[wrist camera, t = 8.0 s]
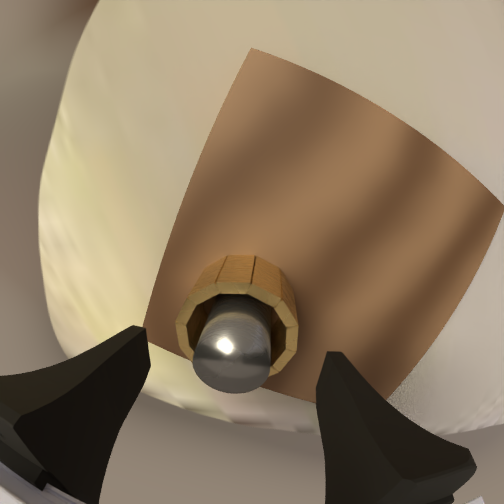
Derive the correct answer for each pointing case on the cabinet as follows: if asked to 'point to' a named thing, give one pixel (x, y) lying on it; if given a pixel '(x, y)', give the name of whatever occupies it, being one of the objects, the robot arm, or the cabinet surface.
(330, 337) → the walnut board
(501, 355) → the cabinet surface
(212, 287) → the wooden barrel ring
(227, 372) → the steel piston
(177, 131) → the cabinet surface
